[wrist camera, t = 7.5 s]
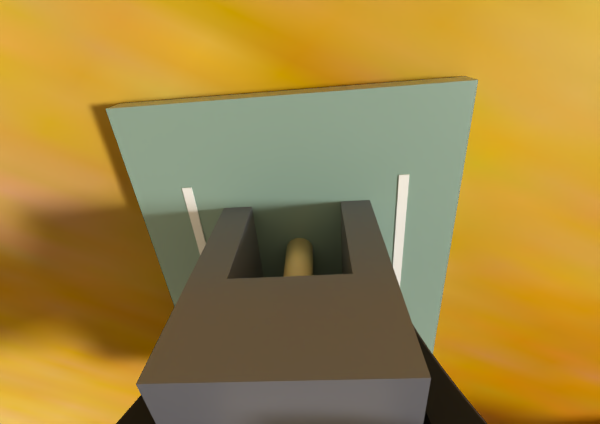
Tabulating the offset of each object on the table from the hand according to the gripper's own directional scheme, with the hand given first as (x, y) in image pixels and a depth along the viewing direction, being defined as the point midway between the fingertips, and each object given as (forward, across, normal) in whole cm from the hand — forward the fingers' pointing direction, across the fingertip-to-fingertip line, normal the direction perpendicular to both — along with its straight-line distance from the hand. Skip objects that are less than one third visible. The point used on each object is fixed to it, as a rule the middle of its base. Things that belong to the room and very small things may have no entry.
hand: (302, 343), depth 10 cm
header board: (+3, 0, 0) cm, 3 cm away
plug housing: (+2, 0, 0) cm, 2 cm away
